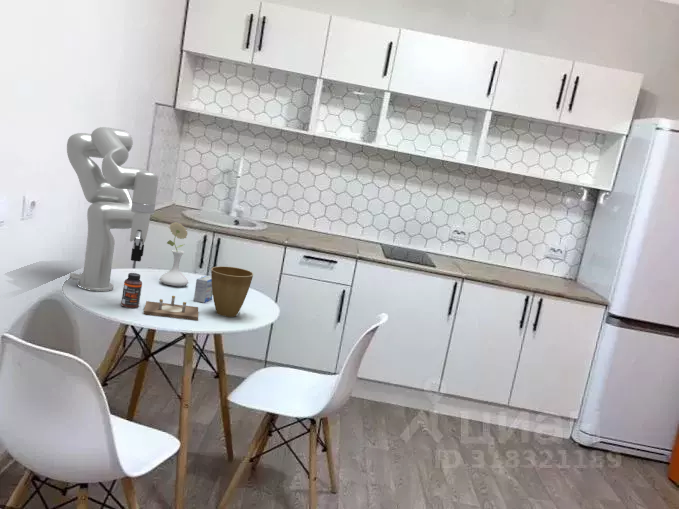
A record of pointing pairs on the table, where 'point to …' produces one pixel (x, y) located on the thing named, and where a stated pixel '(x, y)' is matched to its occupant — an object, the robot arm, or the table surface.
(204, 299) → the medicine box
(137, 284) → the supplement bottle
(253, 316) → the table surface
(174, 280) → the flower in vase
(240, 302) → the plant pot
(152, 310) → the pin board
